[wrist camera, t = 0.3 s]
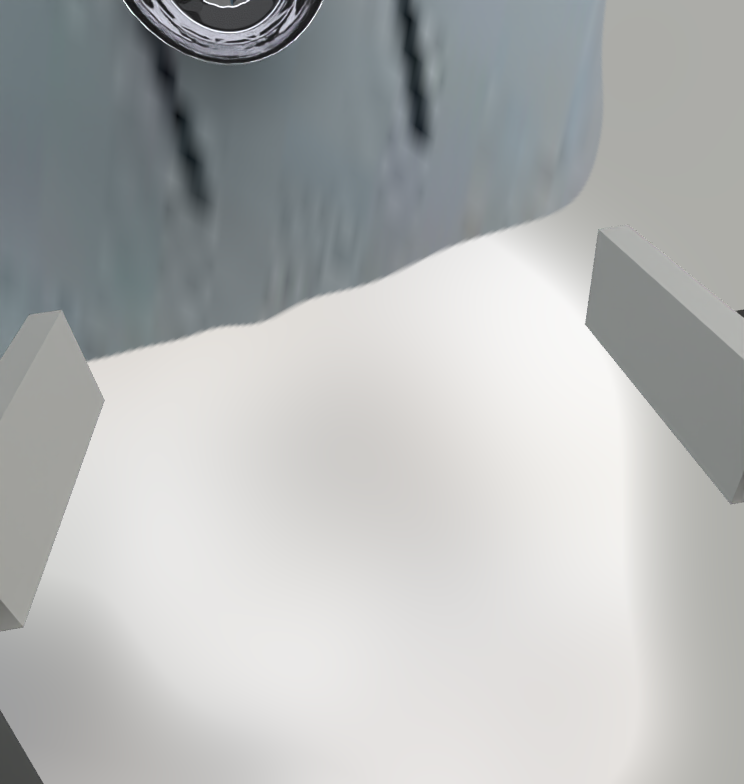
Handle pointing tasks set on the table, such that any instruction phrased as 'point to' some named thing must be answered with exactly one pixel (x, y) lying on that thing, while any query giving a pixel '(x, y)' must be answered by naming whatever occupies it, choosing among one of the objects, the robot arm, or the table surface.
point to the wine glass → (226, 26)
